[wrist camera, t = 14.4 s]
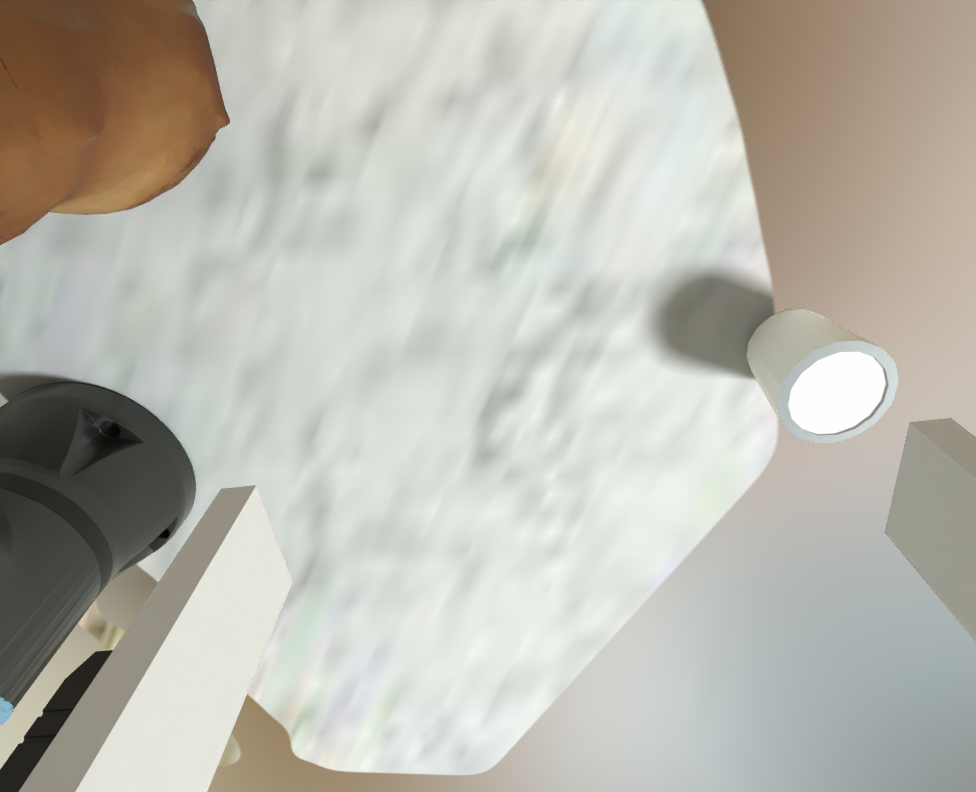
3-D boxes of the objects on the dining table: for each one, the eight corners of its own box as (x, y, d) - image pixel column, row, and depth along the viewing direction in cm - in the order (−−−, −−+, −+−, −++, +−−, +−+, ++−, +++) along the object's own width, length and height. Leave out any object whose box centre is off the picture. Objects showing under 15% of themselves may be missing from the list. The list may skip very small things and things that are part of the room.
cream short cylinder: (757, 292, 40) (803, 333, 34) (857, 307, 40) (921, 350, 34) (723, 384, 43) (760, 436, 37) (816, 397, 44) (868, 451, 37)
